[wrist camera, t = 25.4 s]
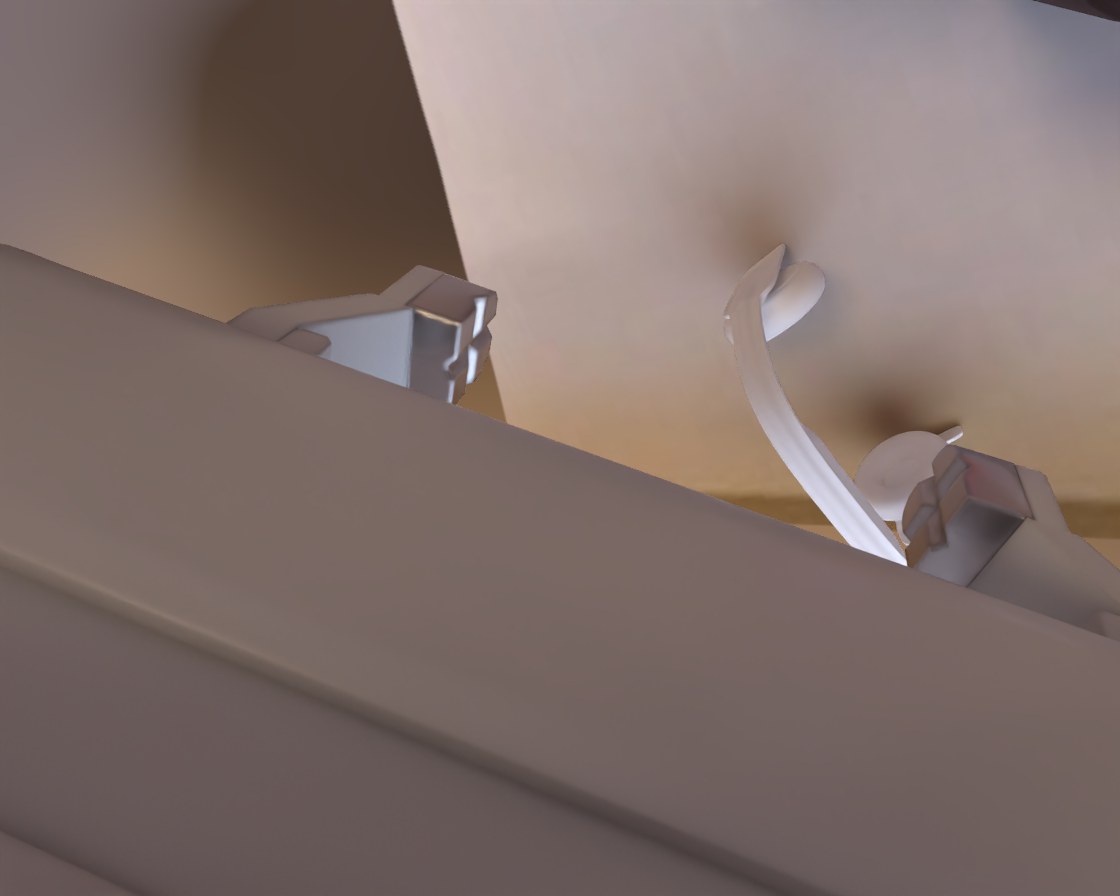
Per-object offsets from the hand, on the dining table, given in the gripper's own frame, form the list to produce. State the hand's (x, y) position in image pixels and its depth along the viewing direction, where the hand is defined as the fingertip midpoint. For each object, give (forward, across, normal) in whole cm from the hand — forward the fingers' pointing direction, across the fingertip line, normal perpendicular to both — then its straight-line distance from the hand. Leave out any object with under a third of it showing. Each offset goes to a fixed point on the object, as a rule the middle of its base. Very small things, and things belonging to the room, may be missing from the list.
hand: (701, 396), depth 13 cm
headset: (+37, -10, +15) cm, 41 cm away
